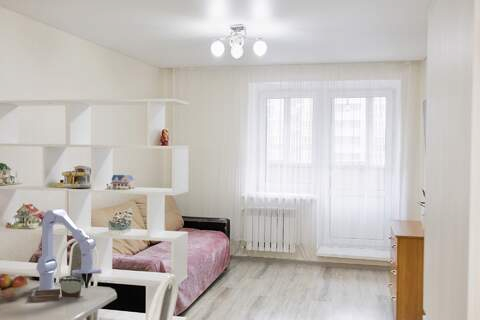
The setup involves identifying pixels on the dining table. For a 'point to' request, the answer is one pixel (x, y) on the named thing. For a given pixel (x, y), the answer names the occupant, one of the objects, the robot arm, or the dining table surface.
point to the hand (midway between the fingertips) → (86, 287)
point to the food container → (71, 286)
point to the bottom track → (45, 295)
